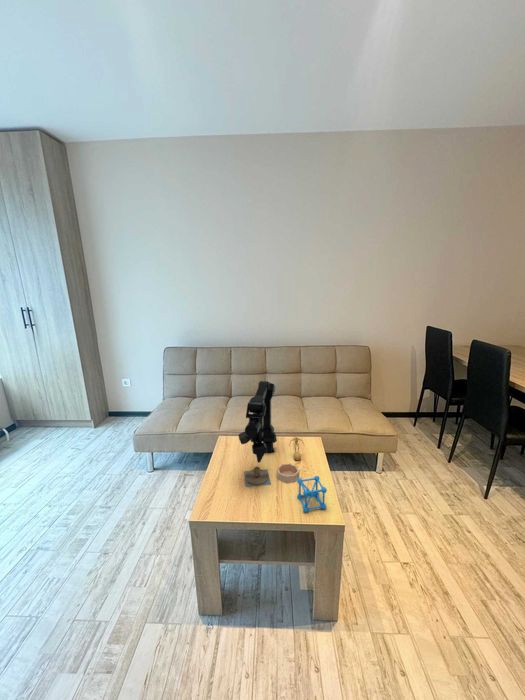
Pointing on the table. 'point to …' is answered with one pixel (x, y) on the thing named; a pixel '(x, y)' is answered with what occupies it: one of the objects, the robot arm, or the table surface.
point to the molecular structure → (311, 493)
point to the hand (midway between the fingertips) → (257, 456)
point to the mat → (256, 485)
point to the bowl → (288, 473)
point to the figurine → (296, 454)
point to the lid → (257, 476)
